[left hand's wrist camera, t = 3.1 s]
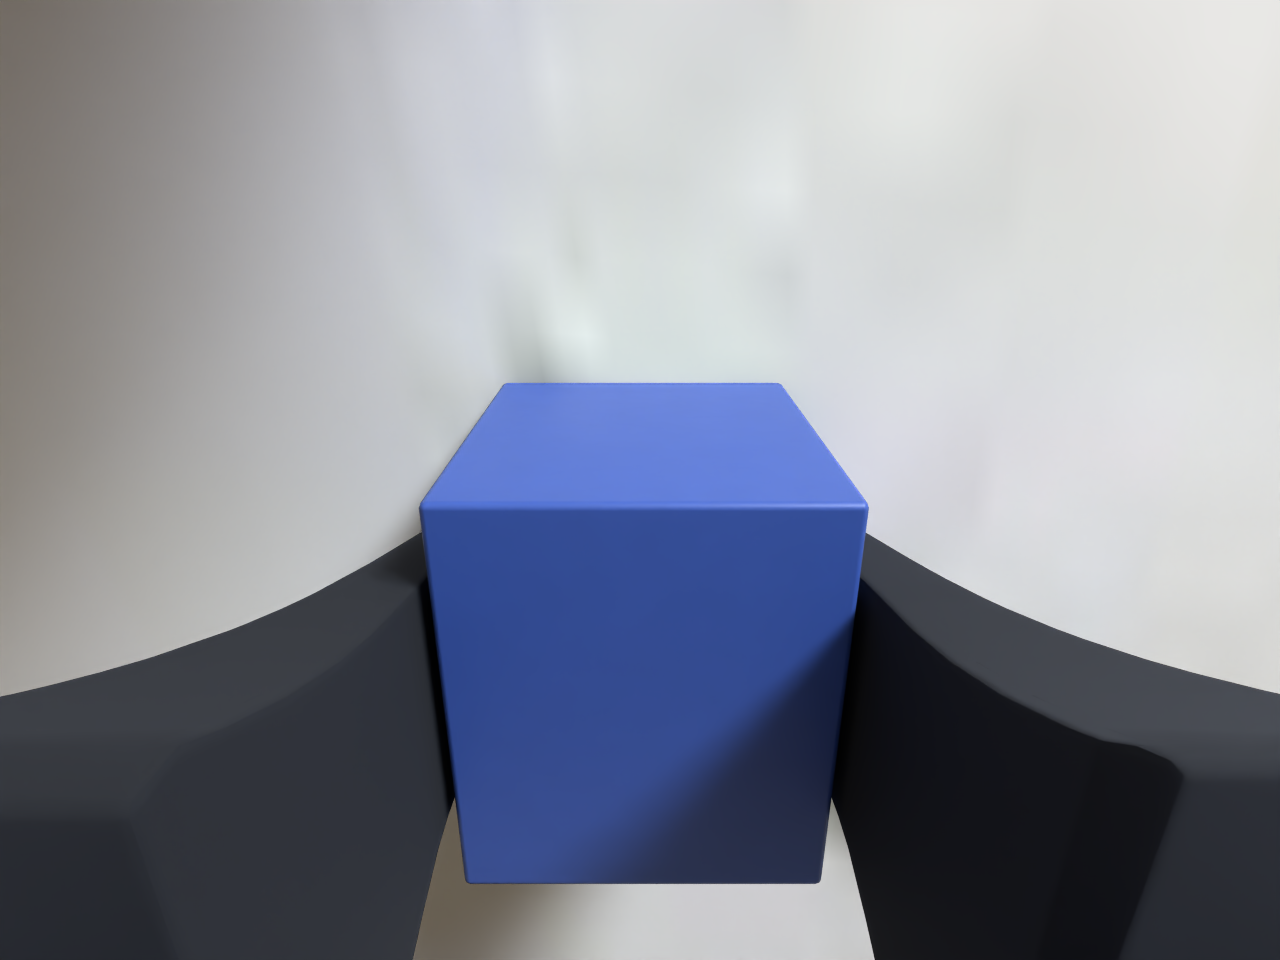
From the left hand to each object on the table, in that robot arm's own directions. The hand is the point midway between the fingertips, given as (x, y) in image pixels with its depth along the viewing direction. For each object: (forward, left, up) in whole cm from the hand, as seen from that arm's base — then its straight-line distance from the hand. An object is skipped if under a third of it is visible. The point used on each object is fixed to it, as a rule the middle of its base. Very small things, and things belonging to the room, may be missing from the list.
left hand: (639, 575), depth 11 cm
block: (0, 0, -2) cm, 2 cm away
